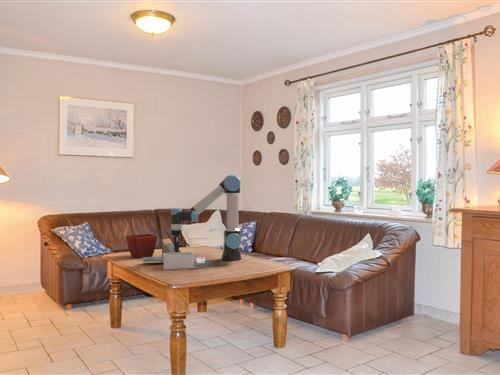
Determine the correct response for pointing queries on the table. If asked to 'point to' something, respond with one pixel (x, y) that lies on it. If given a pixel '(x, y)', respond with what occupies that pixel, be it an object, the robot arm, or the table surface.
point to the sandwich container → (167, 246)
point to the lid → (155, 258)
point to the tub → (178, 260)
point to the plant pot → (141, 245)
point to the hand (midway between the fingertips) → (176, 261)
